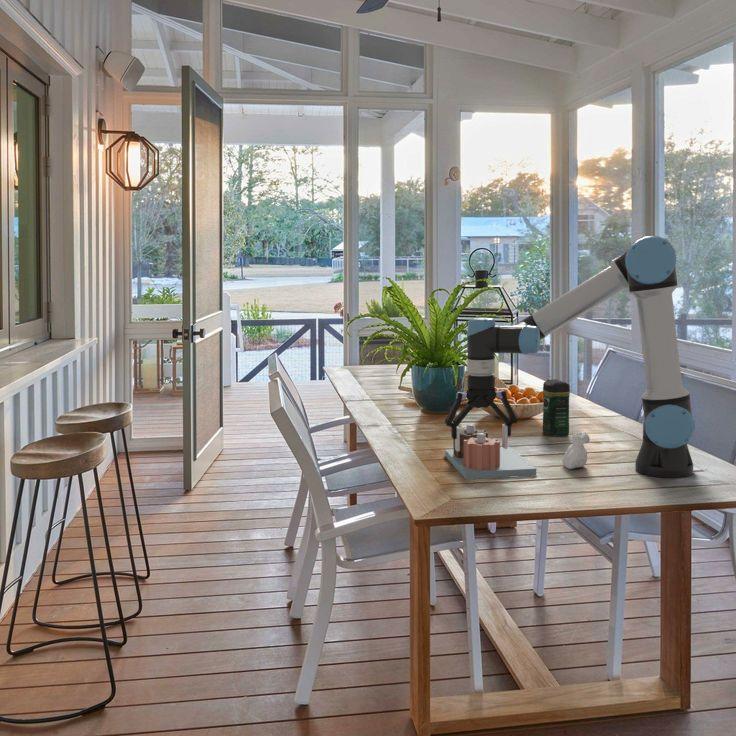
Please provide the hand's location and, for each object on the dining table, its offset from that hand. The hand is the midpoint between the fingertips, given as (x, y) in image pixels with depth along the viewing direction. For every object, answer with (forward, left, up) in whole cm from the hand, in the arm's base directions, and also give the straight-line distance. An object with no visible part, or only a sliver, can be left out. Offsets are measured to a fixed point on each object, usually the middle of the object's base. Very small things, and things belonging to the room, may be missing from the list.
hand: (481, 449), depth 222 cm
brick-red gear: (0, 0, -5) cm, 5 cm away
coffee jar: (+42, -37, -7) cm, 56 cm away
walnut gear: (+12, 0, -5) cm, 13 cm away
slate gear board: (+7, -4, -7) cm, 10 cm away
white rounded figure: (+1, -28, -7) cm, 29 cm away
